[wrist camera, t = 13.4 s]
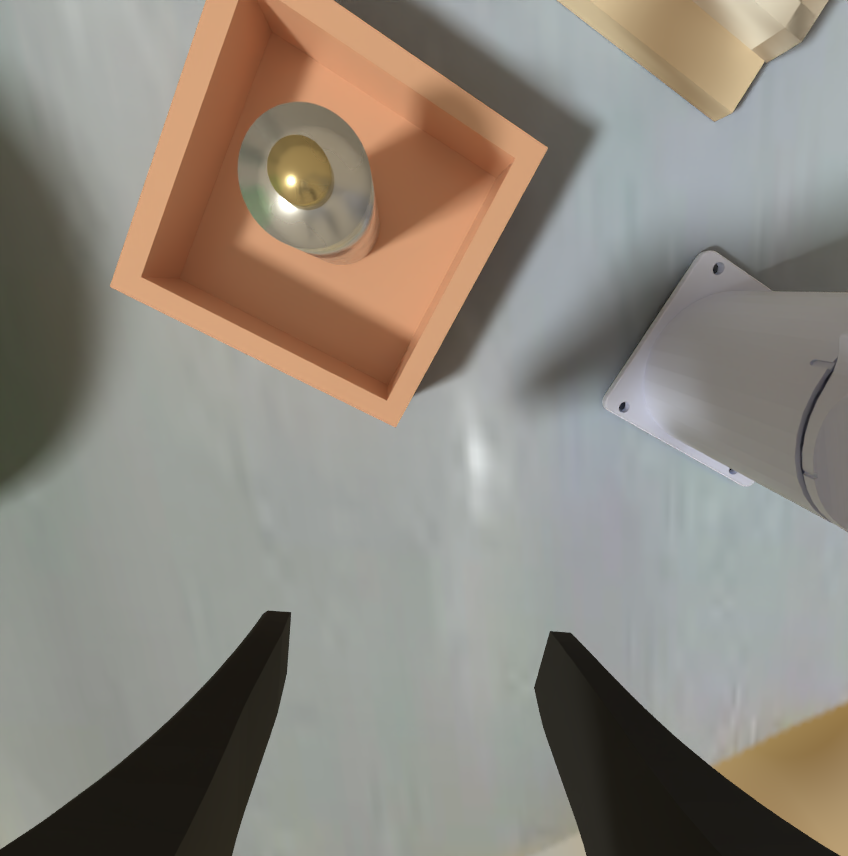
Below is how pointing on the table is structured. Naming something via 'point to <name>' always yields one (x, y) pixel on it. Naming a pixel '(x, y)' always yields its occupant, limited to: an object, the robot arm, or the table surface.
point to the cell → (310, 182)
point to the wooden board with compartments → (702, 41)
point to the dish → (393, 184)
